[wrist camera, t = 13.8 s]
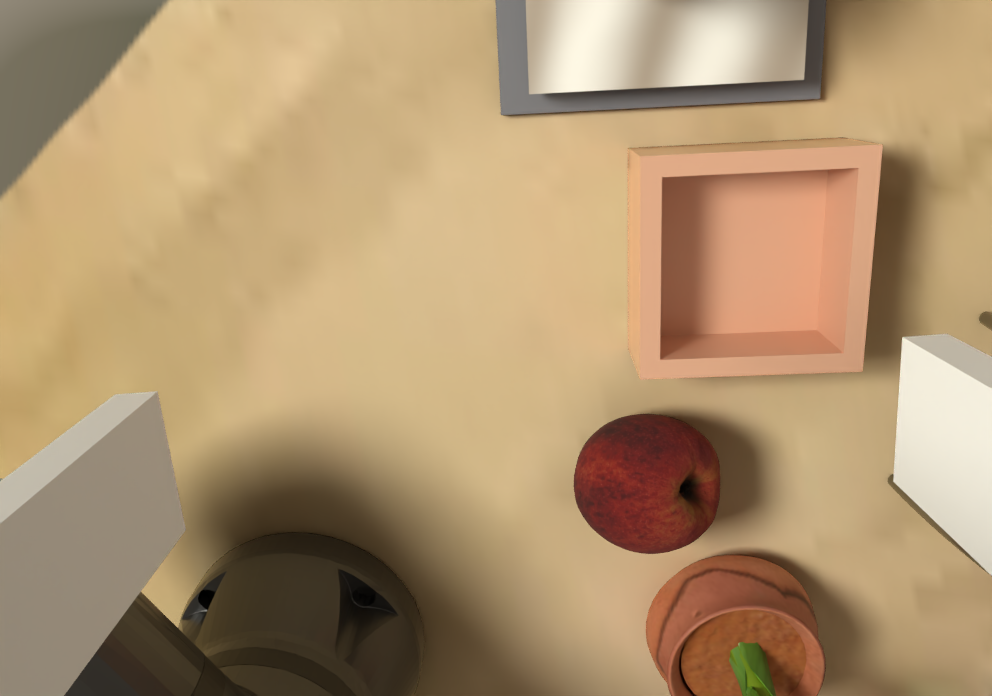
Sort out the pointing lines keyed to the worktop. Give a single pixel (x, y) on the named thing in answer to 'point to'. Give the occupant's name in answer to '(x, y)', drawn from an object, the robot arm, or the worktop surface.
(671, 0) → the lid
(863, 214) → the dish
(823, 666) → the potted flower
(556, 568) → the worktop surface
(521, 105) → the mat
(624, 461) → the apple
